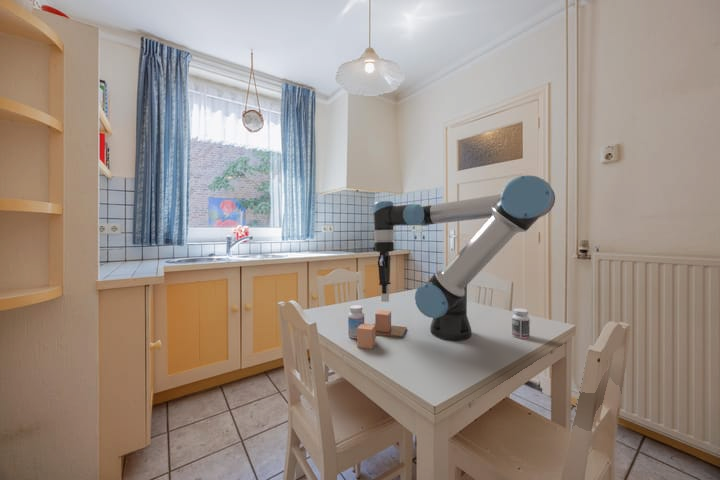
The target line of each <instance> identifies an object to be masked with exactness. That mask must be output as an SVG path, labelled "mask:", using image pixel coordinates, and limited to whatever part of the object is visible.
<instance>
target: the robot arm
mask: <svg viewBox="0 0 720 480" xmlns="http://www.w3.org/2000/svg"><path fill="white" fill-rule="evenodd" d="M555 202H556V194H555V192H554V190H553V188H552V187H551V185H550V183H548V182H547V181H546V180H545V179H543V178H541V177H539V176H535V175H521V176H518V177H516V178H513V179H511V180H510V181H509V182H508V183H507V184H506V185H505V186H504V187H503V189H502V190H501V193H500V194H493V195H488V196H481V197H475V198H469V199H463V200H456V201H449V202H444V203H438V204H431V205H425V206H424V205H421V204H418V203H416V204H415V203H413V204H412V203H411V204H403V205H394V202H393V201H389V200H383V201H382V200H380V201H376V202H375V203H374V204H373V220H374V221H373V223H374V224H373V225H374V230H373V231H374V232H373V234H372V235H373V236H374V241H375V242H374V252H375V253H376V252H378V253H379V256H378V257H377V258H378V260H377V266H378V279H379V282H378V285H379V286H380V290H381V294H380V295H381V296H380V299H381V301H380V302H382V303H383V302H385V303H389V302H390V292H389V291H390V288H389V287H390V285H391V283H392V282H391V280H390V279H391V277H390V276H391V260H392V258H391V256H390V252H393V251H395V244H394V239H395V236H394V235H395V231H394V230H395V229H394V227H396V226H397V227H398V226H412V227H413V226H422V227H423V226H424V227H425V226H426V227H427V226H430V225H436V224H445V223H453V222H462V221H463V222H464V221H472V220H473V221H474V220H480V219H481V220H482V219H487V220H486V221H485V222H484V223H483V225H482V226H481V227H480V229H478V230H477V232H476V233H475V234H474V235H473V236H472V237H471V238H470V240H469V241H468V242H467V243H466V244H465V245H464V247H463V248H462V249H461V250H460V251H459V252H458V253H457V254H456V255H455V257H454V258H453V259H452V260H451V262H449V264H447V266H446V267H445V268H444V269H443V270H437V271H435V273H434V274H433V275H432V276H431V277H430V278H429V279H428V281H427V282H425V283H423V284H421V285H419V286H418V287H417V289H416V291H415V293H414V294H415V295H414V300H415V305H416V307H417V309H418V311H419V312H420V313H421V314H423V315H424V316H426V317H427V318H432V320H431V323H430V327H429V328H430V329H429V330H430V333H431V334H432V335H433V336H434V337H436V338H440V339H443V340H446V341H447V340H449V341H465V340H469V339H470V338H471V337H472V327H471V325H470V324H471V323H470V321H469V318H468V315H467V314H468V313H467V312H468V310H467V306H468V305H467V304H468V296H467V295H468V294H467V293H468V285H469V284H470V282H471V281H473V280H474V279H475V277H476V276H477V275H478V274H479V273H480V272H481V271H483V269H484V268H485V267H486V266H487V265H488V264H489V263H490V262H491V261H492V259H493V258H494V257H495V256H497V254H498V253H499V252H501V250H502V249H503V248H504V247H505V246H506V245H507V244H508V243H509V242H510V240H511V239H512V238H514V236H516V234H517V233H523V232H524V233H525V232H527V231H528V230H529V229H530V228H531V227H532V226H533V224H535V223H536V222H537V221H538V219H540V218H542V217H544V216H546V215H547V214H548V213H550V211H551V210H553V208H554V206H555Z"/></svg>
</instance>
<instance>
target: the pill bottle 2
mask: <svg viewBox="0 0 720 480" xmlns="http://www.w3.org/2000/svg"><path fill="white" fill-rule="evenodd" d="M528 315H529V311H528V310H527V309H524V308H520V307H517V308H513V315H512V317H511V335H512V337H514V338H516V339H524V340H526V339H529V338H530V333H531V331H530V326H531V325H530V323H531V322H530V321H531V319H530V317H529V316H528Z"/></svg>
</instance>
